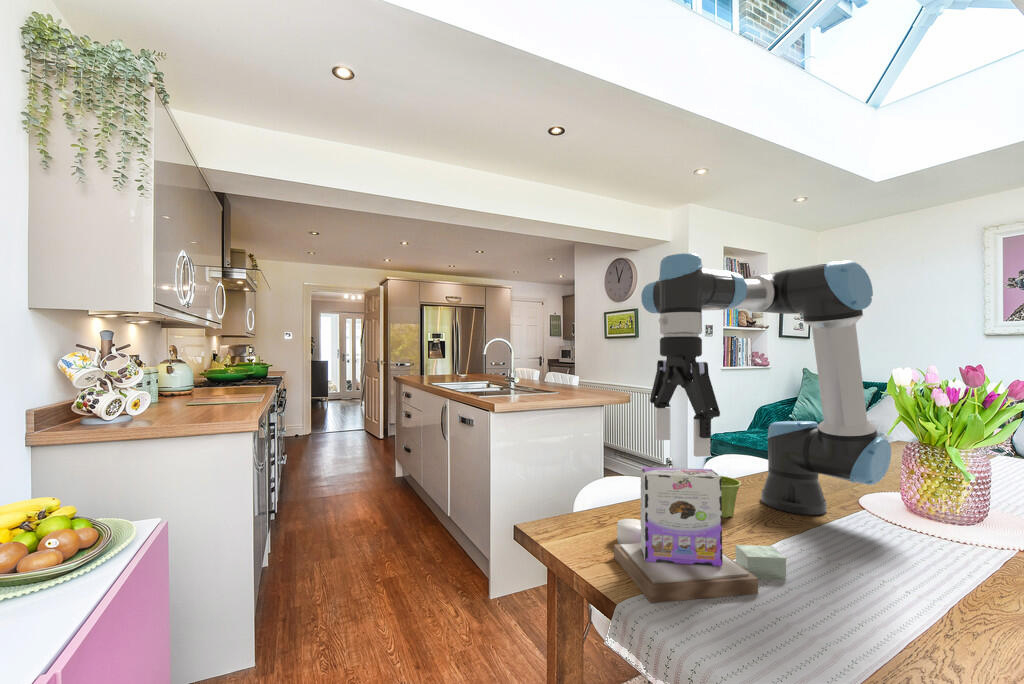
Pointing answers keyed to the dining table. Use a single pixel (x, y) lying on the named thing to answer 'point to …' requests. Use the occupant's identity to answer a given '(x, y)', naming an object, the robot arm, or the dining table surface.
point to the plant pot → (728, 495)
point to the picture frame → (683, 577)
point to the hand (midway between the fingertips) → (681, 447)
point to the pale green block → (761, 561)
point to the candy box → (681, 516)
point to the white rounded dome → (628, 531)
